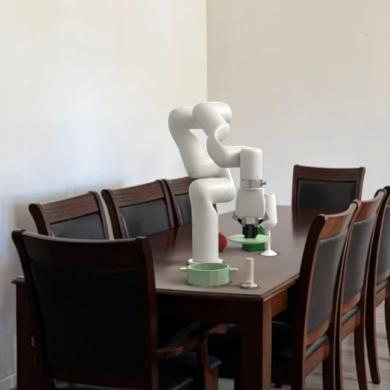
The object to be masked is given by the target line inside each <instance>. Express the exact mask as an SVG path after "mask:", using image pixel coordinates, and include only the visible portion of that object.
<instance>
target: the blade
mask: <svg viewBox="0 0 390 390" xmlns="http://www.w3.org/2000/svg"><path fill="white" fill-rule="evenodd" d="M244 259H245V263H244V264H245V267H244V268H245V272H244V273H245V275H244V276H245V277H244V278H245V283H242V284H241V287H243V288H250V289H251V288H257V287H258V284H257V283H255V282H254V281H255V279H254V278H255V277H254V276H255V275H254V270H255V266H254V263H255V262H254V261H255V260H254V258H253V257H245V258H244Z"/></svg>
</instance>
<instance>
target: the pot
mask: <svg viewBox="0 0 390 390" xmlns="http://www.w3.org/2000/svg"><path fill="white" fill-rule="evenodd" d="M238 269H239V268H238V267H230V265H229V264H227V263H223V262H222V263H197V264H192V265H189V264H188V266H187V267H180V268H179V273H187V283H188V284H190V285H193V286H202V287H211V286H212V287H213V286H214V287H215V286H221V285H225V284H229V282H230V280H231V279H230V274H231V273H238V271H239V270H238Z"/></svg>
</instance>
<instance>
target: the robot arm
mask: <svg viewBox="0 0 390 390" xmlns="http://www.w3.org/2000/svg"><path fill="white" fill-rule="evenodd" d="M232 118H233V111H232V109H231V107H230V105H229V104H227V103H226V102H224V101H201V102H198V103H197V104H195V105H194V106H178V107H175V108H172V109H171V110H170V112H169V114H168V118H167V125H168V130H169V133H170V136H171V138H172V139H173V141H174V143H175V145H176V147H177V149H178V152H179V155H180V158H181V162H182V164H183V167H184V170H185V172H186V174H187V176H188V177H189V178H191V179H195V180H193V181H192V182H190V185H189V188H188V195H189V200H190V206H191V236H192V237H191V238H192V240H191V241H192V242H191V243H192V244H191V245H192V249H191V250H192V254H191V255H192V258H190V259H188V260H187V264H188V266H189V265H192V264H197V263H223V261H224V260H223V259H222V258H219V251H218V233H219V215H218V212H217V210H216V209H215V207H214V205H215V204H217V205H218V204H227V203H230V202H232V201H233V200H234V199H235V206H234V207H235V208H234V212H233V214H232V216H231V219H232V220H234V221H235V222H238V224H240V226H241V227H242V226H243V235H244V238H247V224H246V218H255V225H254V227H253V238H256V236H258V226H259V225H260V224H261V223H262V222H264V221H266V220H268V219H269V216H268V214H267V212H266V198H265V194H266V191H265V188H264V186H267V180H263V149H261V148H259V147H251V146H249V145H223V144H222V143H221V142H223V141H225V140H226V139H227V138H228V136H229V134H230V133H231V127H230V124H229V123H231V121H232ZM190 130H202V131H203V133H204V134H205V136H207V138H206V143H205V144H206V151H205V150H204V149H203V146H202V143H201V141H200V139H199V138H198V137H197V136H196V135H195V134H194V133H193V132H192V131H190ZM231 168H233V169H235V168H238V169H239V187H237V190H236V184H235V182H234V179H233V176H232V172H231V170H230V169H231ZM262 217H263V218H262ZM259 218H261V219H260V220H259Z"/></svg>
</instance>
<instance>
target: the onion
mask: <svg viewBox="0 0 390 390" xmlns="http://www.w3.org/2000/svg"><path fill="white" fill-rule="evenodd" d="M227 245H228V239H227V237H226V235H224V234H223V233H222V231H218V252H222V251H223V250H224V249H225V248H226V247H227Z"/></svg>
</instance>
